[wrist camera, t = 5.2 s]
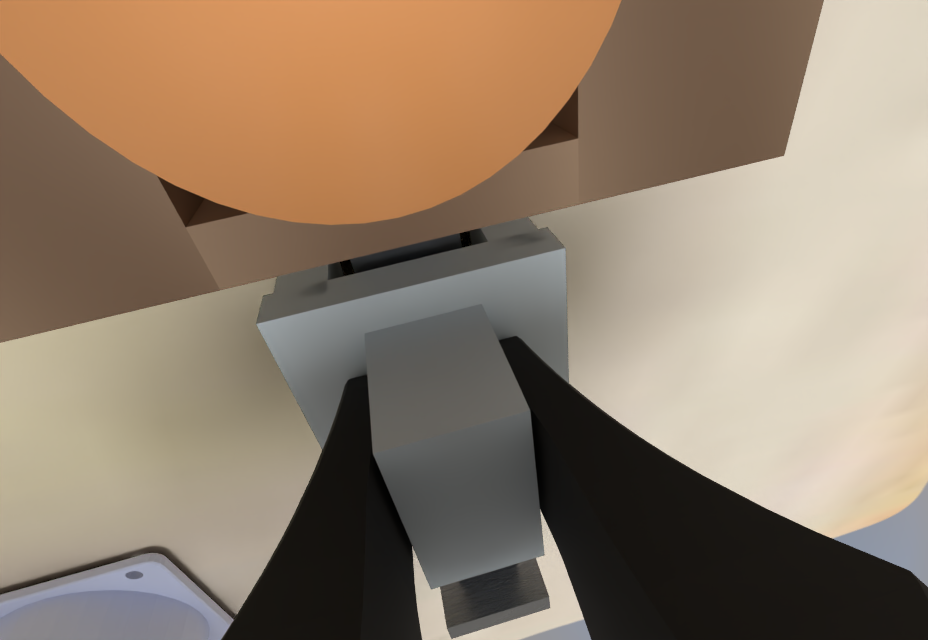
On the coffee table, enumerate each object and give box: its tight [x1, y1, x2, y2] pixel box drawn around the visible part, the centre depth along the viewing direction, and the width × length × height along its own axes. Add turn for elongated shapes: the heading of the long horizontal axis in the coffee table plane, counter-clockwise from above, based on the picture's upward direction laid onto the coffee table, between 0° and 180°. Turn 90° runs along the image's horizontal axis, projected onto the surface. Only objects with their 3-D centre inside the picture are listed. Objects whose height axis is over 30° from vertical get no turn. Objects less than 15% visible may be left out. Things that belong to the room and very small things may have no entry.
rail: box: [350, 233, 550, 639], centre depth 14 cm, size 4×18×4 cm, turn 9°
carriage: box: [256, 217, 569, 589], centre depth 11 cm, size 6×6×6 cm
